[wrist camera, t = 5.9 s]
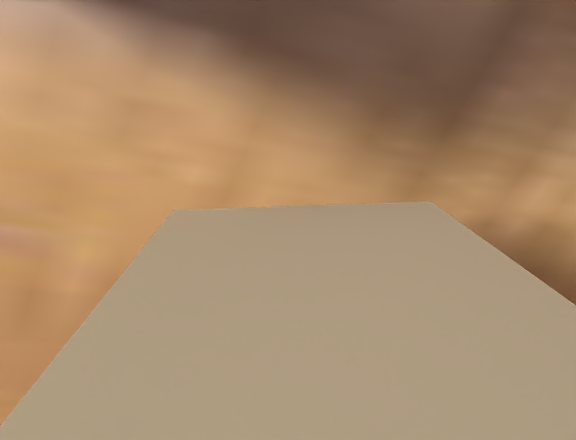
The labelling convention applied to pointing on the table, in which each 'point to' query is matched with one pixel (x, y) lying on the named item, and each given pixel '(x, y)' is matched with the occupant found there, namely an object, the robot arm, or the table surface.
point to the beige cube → (314, 336)
